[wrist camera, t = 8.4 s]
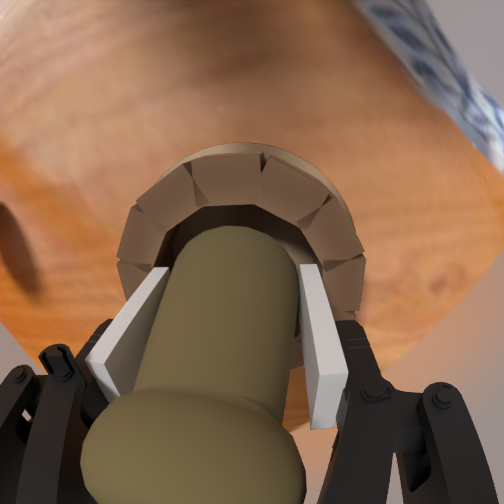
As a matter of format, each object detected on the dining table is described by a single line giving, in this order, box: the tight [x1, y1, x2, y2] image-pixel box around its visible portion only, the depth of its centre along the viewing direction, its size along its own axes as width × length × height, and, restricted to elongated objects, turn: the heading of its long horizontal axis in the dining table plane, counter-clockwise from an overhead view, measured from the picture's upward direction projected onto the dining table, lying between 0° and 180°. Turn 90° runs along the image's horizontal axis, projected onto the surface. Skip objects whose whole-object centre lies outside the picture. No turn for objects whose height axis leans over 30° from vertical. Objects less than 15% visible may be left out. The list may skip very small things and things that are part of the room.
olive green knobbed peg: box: [80, 226, 307, 504], centre depth 8 cm, size 6×6×11 cm
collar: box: [116, 143, 366, 370], centre depth 15 cm, size 13×13×4 cm
